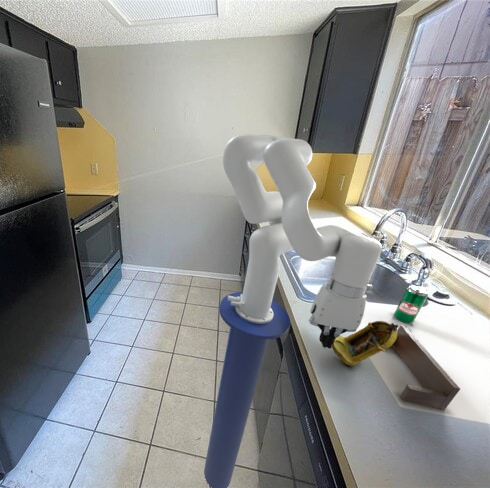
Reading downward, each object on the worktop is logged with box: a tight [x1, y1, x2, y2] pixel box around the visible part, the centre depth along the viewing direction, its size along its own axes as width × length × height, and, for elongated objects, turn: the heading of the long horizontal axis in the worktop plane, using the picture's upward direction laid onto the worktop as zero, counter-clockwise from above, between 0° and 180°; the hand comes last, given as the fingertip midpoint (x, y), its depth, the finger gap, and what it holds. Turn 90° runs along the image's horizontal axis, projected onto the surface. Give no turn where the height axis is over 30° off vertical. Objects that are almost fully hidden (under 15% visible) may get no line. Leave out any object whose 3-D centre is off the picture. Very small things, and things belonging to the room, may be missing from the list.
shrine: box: [331, 320, 399, 368], centre depth 66 cm, size 12×8×15 cm
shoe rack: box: [390, 324, 461, 411], centre depth 66 cm, size 8×20×7 cm, turn 166°
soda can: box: [393, 284, 429, 324], centre depth 83 cm, size 5×5×12 cm
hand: (325, 344), depth 69 cm, fingers closed
